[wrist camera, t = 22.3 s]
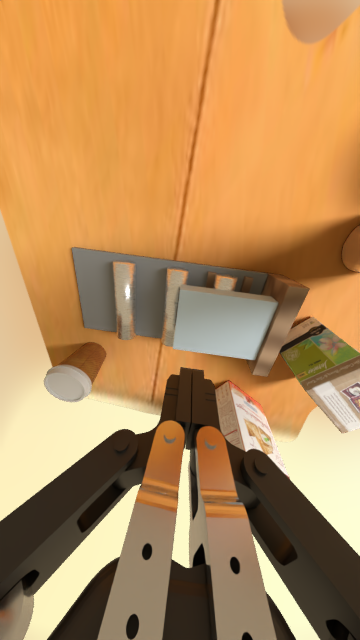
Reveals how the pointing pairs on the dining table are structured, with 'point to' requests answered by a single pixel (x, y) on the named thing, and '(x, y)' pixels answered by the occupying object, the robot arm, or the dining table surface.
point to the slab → (222, 321)
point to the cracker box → (245, 423)
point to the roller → (225, 282)
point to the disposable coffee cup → (75, 373)
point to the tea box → (326, 371)
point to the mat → (139, 287)
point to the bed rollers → (127, 300)
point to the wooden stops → (288, 307)
